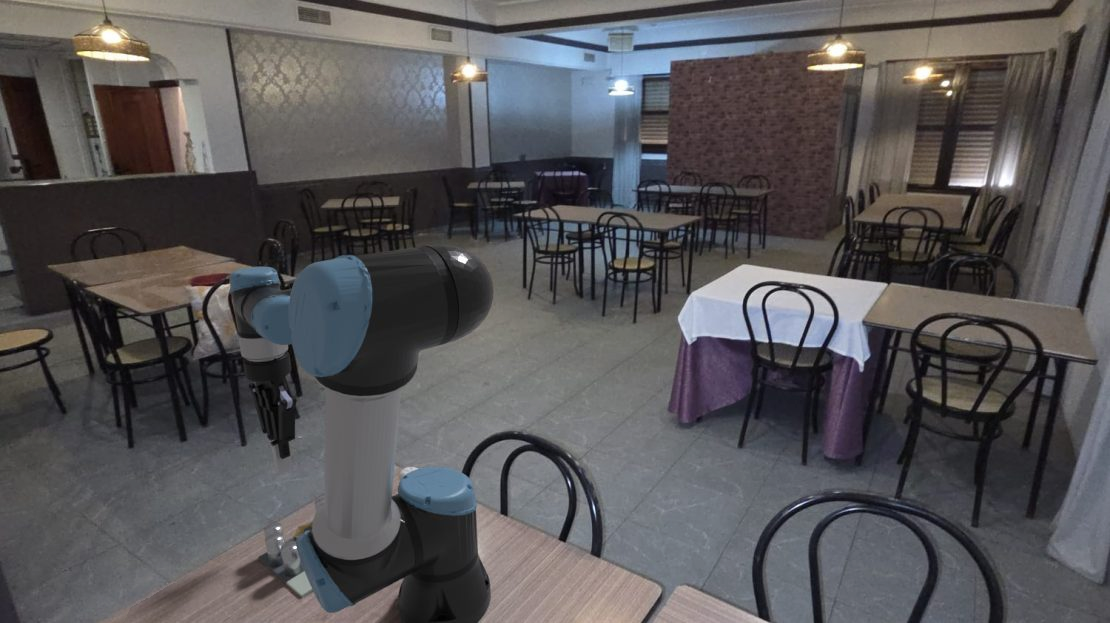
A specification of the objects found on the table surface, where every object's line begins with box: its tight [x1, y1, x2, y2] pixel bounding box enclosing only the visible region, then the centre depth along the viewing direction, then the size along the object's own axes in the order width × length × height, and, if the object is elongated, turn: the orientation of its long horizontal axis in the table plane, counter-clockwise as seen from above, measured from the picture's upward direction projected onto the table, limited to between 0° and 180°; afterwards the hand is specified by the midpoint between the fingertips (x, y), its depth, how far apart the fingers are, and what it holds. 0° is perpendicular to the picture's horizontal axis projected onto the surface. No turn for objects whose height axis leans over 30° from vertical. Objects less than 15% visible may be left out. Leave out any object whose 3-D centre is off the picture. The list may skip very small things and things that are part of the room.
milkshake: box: [398, 466, 425, 482], centre depth 120 cm, size 4×5×10 cm
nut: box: [293, 520, 313, 541], centre depth 110 cm, size 6×5×3 cm
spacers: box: [263, 496, 324, 577], centre depth 109 cm, size 10×15×5 cm
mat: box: [258, 537, 313, 598], centre depth 109 cm, size 15×16×1 cm
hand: (284, 470), depth 111 cm, fingers closed
